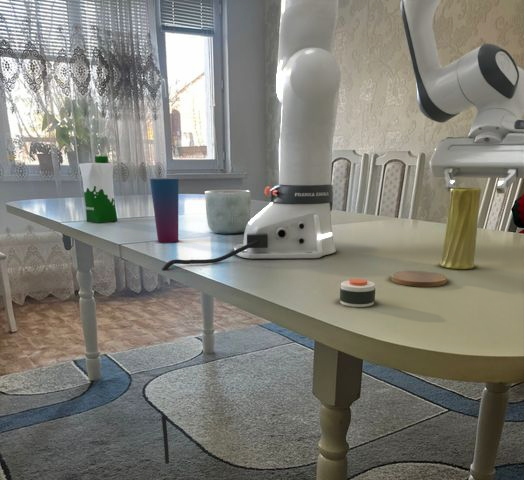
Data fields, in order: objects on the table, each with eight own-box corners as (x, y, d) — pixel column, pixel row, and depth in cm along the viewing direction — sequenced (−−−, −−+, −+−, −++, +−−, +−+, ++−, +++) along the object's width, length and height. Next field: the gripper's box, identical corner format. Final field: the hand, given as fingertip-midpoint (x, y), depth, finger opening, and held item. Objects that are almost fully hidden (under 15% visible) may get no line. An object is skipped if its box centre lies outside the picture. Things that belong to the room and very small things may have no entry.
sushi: (346, 308, 76) (347, 285, 75) (335, 299, 80) (335, 277, 79) (379, 306, 77) (381, 283, 76) (366, 297, 81) (368, 276, 80)
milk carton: (121, 220, 178) (115, 156, 171) (97, 223, 171) (90, 156, 164) (105, 219, 183) (99, 156, 176) (82, 221, 176) (74, 156, 170)
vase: (434, 263, 106) (442, 187, 101) (464, 263, 106) (474, 187, 101) (448, 270, 100) (457, 189, 95) (480, 269, 100) (490, 189, 96)
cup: (187, 240, 136) (184, 178, 131) (169, 244, 131) (165, 179, 126) (167, 238, 140) (163, 177, 135) (148, 242, 134) (143, 178, 129)
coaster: (405, 288, 87) (405, 283, 87) (383, 276, 95) (383, 272, 95) (456, 285, 88) (457, 280, 88) (430, 274, 97) (431, 269, 96)
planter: (219, 228, 158) (217, 189, 154) (258, 230, 153) (257, 190, 150) (198, 234, 147) (196, 192, 143) (239, 236, 143) (238, 193, 139)
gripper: (437, 126, 111) (418, 178, 107) (548, 122, 101) (531, 179, 96) (441, 149, 116) (423, 199, 112) (547, 148, 106) (531, 203, 101)
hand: (474, 190), depth 104 cm, fingers open, 8 cm apart
